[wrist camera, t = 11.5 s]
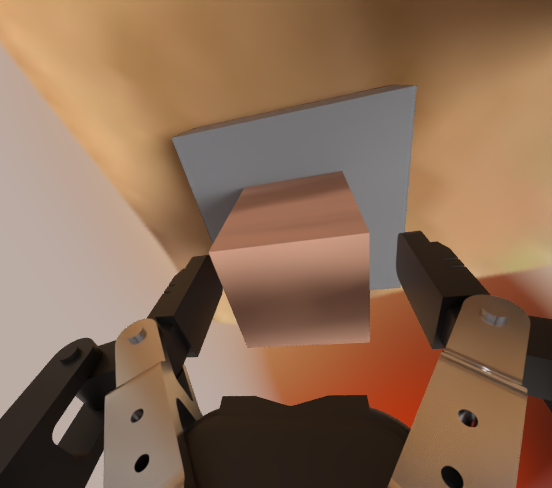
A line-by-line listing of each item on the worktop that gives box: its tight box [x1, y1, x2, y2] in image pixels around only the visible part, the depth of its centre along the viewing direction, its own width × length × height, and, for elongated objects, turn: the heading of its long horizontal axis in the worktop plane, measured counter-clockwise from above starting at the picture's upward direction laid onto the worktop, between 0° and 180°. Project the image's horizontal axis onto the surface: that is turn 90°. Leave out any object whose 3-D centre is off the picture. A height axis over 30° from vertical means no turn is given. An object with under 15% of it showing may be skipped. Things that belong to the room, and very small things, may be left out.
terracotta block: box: [209, 171, 370, 348], centre depth 11 cm, size 5×5×6 cm
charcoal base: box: [172, 85, 417, 290], centre depth 15 cm, size 11×11×3 cm
